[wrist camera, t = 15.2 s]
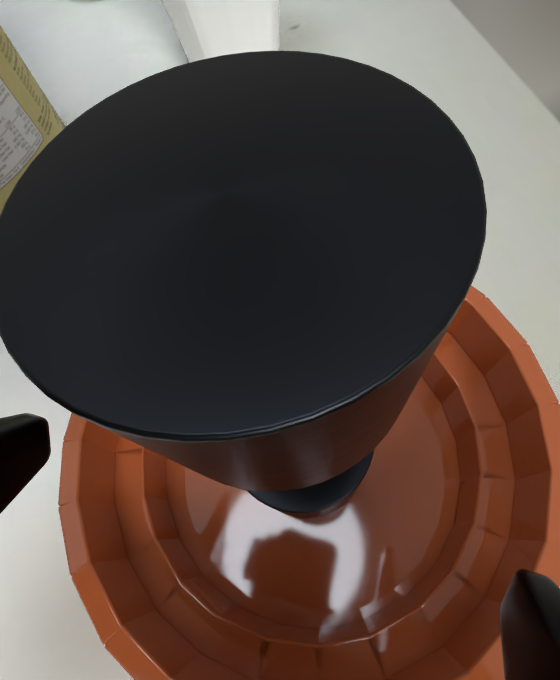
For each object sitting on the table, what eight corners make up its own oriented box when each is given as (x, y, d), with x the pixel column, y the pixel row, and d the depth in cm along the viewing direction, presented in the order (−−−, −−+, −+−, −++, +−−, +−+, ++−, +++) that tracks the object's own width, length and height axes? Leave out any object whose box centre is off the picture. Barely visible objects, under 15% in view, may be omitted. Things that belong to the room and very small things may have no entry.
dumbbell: (359, 530, 14) (501, 501, 2) (234, 504, 15) (-120, 388, 3) (371, 404, 16) (481, 44, 4) (260, 388, 17) (97, 50, 5)
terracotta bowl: (557, 403, 16) (648, 349, 11) (380, 810, 11) (413, 990, 7) (267, 258, 20) (249, 181, 16) (64, 504, 16) (-38, 492, 12)
